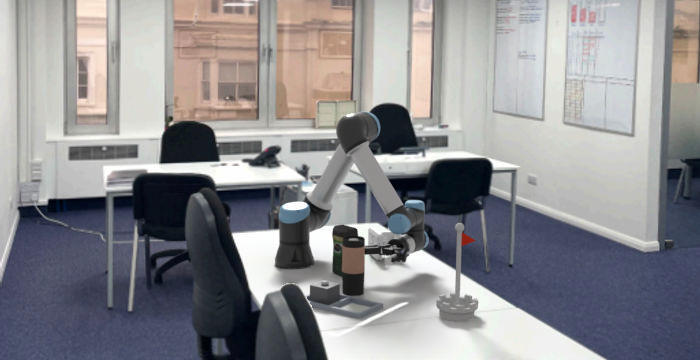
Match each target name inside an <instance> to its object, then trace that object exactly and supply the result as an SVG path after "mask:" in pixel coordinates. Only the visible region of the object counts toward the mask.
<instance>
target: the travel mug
mask: <svg viewBox="0 0 700 360" xmlns="http://www.w3.org/2000/svg"><path fill="white" fill-rule="evenodd" d="M365 246H366V240H365V237H364V236H359V235H358V236H346V237H343V248H342V277H341V278H342V279H341V281H342V282H341V284H342V285H341V286H342V294H344V295H348V296H352V297H358V296H362V295H364V293H365V291H364V289H365V274H366V273H365V272H366V271H365V266H366V265H365V264H366V263H365V262H366V258H365V256H366V255H365Z"/></svg>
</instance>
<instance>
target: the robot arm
mask: <svg viewBox="0 0 700 360" xmlns="http://www.w3.org/2000/svg"><path fill="white" fill-rule="evenodd" d="M335 130H336V131H335V133H336V138H337V141H338V143H339V144H338V145H337V148H336V149H335V151H334V152H333V155H332V156H331V158H330V160H329V162H328V163H327V165H326V166H325V169H324V171H323V173H322V174H321V176H320V177H319V179H318V181H317V183H316V185H315V187H314V189H313V190H312V191H309V192H307V193H306V194H305V197H304V198H303V200H302V201H291V202H287V203H284V204H283V205H281V206H280V208H279V210H278V211H279V213H278V221H279V223H278V227H279V231H278V234H279V237H278V239H279V244H278V248H277V250H276V255H275V257H274V265H275V266H277V267H279V268H282V269H287V270H288V269H290V270H293V269H294V270H296V269H297V270H298V269H299V270H300V269H305V268H306V269H307V268H311V267H312V266H314V264H315V257H314V255H313V252H312V248H311V244H310V242H311V241H310V239H311V238H310V233H311V232H314V231H316V230H319V229H322V228H324V227H325V226H326V225H327V224H328V222H329V221H330V219H331V215H332V212H331V211H332V210H333V207H334V206H333V205H334V204H333V200H334V199H335V196H336V195H337V193H338V192H339V190H340V188H341V187H342V185H343V183H344V181H345V179H346V177H347V176H348V174H349V173H350V170H352V167H353V166H354V165H355V166H356V168H357V170H358V171H359V173H360V175H361V176H362V178H363V180H364V181H365V183H366V185H367V186H368V188H369V189H370V191H371V193H372V194H373V196H374V198H375V199H376V201H377V203H378V204H379V206H380V207H381V209H382V211H383V213H384V215H386V218H387V229H388V228H389V230H390V231H391V232H392V233H394V234H397V235H399V234H402V235H401V236H399V237H396V238H393V239H391V240H390V241H389V242H388V244H385V245H380V244H379V243H378V244H374V245H368V244H367V245H366V244H365V256H366V255H367V256H368V255H371V254H379V255H382V256H384V255H385V257H383V258H384V260H383V262H384V267H387V266H390V265H392V264H394V263H400V262H402V263H406V262H407V258H408V257H409V256H410V255H411V254H413V253H417V252H420V251H421V250H423V249H425V248H426V247H427V246H428V245H429V243H430V241H429V240H430V238H429V235H428V233H427V232H426V231H425V219H426V217H425V214H426V213H425V212H426V210H425V209H426V207H425V202H424V201H423V200H419V199H409V200H406V201H405V203H403V202H402V199H401V198H400V196H399V194H398V193H397V191H396V190H395V188H394V187H393V185H392V183H391V182H390V180H389V178H388V176H387V175H386V173H385V172H384V170H383V169H382V166H381V165H380V164H379V162H378V160H377V158H376V157H375V155H374V153H373V152H372V150H371V148H370V146H369V145H370V144H371V142H373V141H374V140H376V139H377V138H378V136H379V135H380V133H381V132H380V131H381V124H380V120H379V119H378V117H377V116H376V115H375V114H373V113H372V112H369V111H358V112H353V113H348V114H345V115H343V116H342V117H341V118H340V119H339V120H338V122H337V124H336V128H335ZM381 249H382V253H381Z"/></svg>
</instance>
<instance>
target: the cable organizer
mask: <svg viewBox="0 0 700 360" xmlns="http://www.w3.org/2000/svg"><path fill="white" fill-rule="evenodd" d="M367 232H368V234H367V245H374V244H378V243H379V244H380V245H385V244H388V242H389V241H390V240H391V239H393V238H396V237H399V236H401V235H403V234H399V235H397V234H394V233H392V232H391V231H390V230H389V228H388V227H387V230H382V231H381V230H378V229H377V228H376V227H374V226H368V230H367ZM381 253H382V249H381ZM370 255H371V256H372V257H373V259H375V260H376V261H381V260H383V258H386V255H379V254H370Z"/></svg>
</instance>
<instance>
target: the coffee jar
mask: <svg viewBox="0 0 700 360" xmlns="http://www.w3.org/2000/svg"><path fill="white" fill-rule="evenodd" d="M358 231H359V230H358V229H357V228H356V227H353V226H351V225H350V226H349V225H346V224H343V223H342V224H337V225H334V226H333V227H332V233H331V236H332V243H333V244H332V246H333V247H332V263H331V273H332V275H335V276H339V277H341V278H342V248H343V237H346V236H359V232H358Z"/></svg>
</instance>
